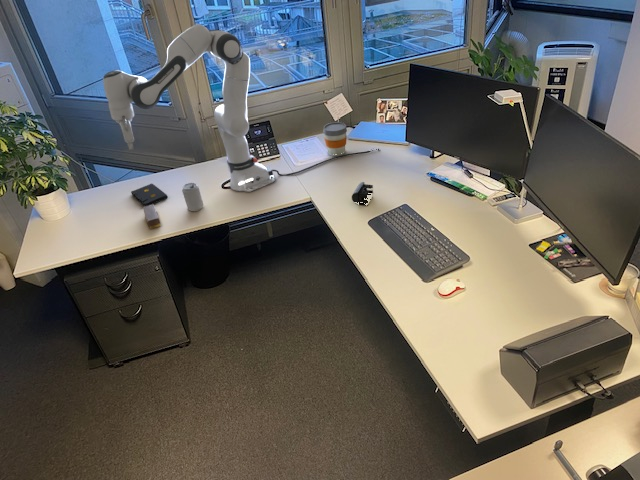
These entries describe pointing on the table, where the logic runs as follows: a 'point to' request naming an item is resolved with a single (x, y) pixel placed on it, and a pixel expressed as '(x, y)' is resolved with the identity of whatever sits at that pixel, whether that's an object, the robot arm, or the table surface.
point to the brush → (151, 216)
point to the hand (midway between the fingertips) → (130, 145)
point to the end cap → (362, 193)
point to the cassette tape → (149, 195)
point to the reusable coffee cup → (335, 138)
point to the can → (192, 196)
